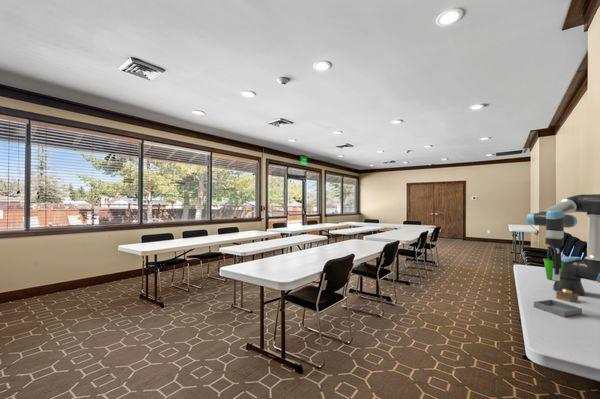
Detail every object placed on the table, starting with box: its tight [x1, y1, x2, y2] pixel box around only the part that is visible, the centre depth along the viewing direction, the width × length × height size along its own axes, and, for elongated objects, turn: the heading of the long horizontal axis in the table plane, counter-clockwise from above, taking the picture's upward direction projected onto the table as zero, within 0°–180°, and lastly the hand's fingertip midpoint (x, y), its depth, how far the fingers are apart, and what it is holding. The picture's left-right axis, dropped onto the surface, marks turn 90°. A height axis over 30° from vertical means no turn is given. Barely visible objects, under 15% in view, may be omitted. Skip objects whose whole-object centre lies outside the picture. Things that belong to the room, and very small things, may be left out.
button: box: [562, 289, 572, 295], centre depth 171 cm, size 4×4×3 cm
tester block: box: [555, 291, 579, 303], centre depth 171 cm, size 7×7×4 cm
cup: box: [542, 258, 564, 282], centre depth 157 cm, size 9×9×11 cm
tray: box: [533, 299, 583, 318], centre depth 152 cm, size 14×14×3 cm
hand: (553, 278), depth 157 cm, fingers closed on cup, 9 cm apart
